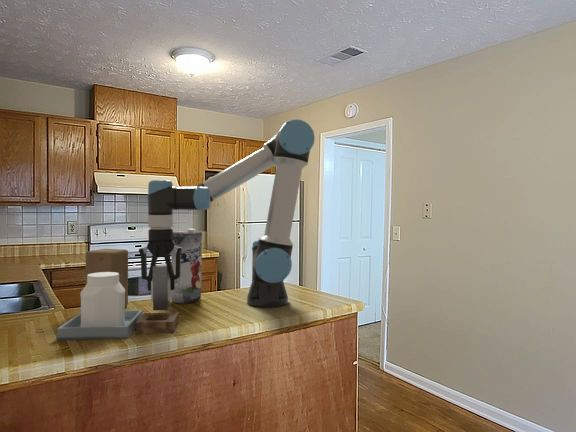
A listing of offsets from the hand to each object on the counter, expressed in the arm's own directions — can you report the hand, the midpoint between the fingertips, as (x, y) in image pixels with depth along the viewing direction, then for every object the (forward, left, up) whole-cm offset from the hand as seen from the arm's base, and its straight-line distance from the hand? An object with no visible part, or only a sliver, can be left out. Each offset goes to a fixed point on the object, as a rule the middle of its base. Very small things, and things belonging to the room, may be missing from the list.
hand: (161, 300), depth 129 cm
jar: (+14, +14, -4) cm, 20 cm away
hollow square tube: (-2, +14, -5) cm, 15 cm away
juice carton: (-6, -19, -5) cm, 20 cm away
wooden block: (+19, -9, -5) cm, 22 cm away
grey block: (0, 0, -3) cm, 3 cm away
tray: (+13, +14, -5) cm, 20 cm away
